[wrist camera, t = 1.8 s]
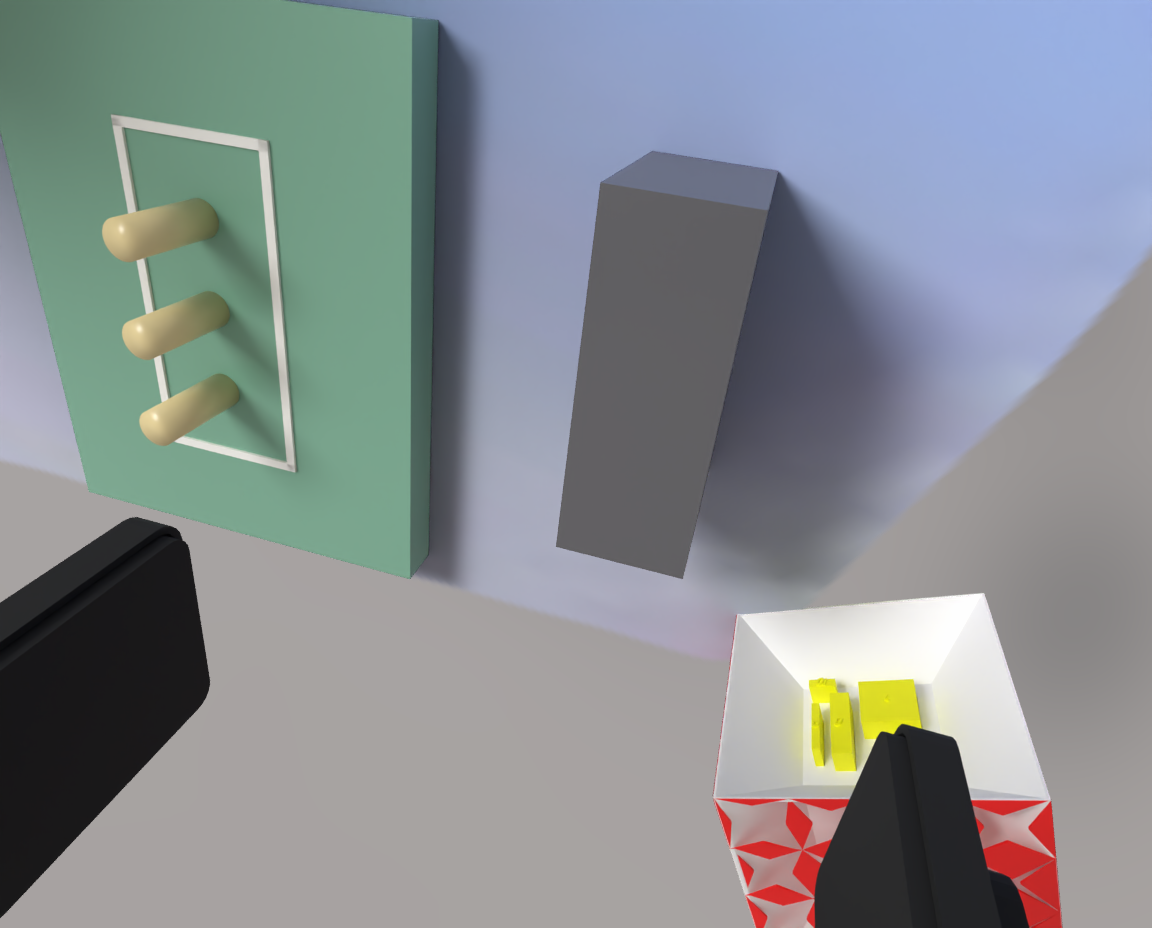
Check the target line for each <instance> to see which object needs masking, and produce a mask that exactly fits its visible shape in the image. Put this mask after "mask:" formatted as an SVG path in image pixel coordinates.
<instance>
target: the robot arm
mask: <svg viewBox="0 0 1152 928" xmlns="http://www.w3.org/2000/svg"><path fill="white" fill-rule="evenodd" d="M209 686H210V677H209V672H208V665H207V659H206V652H205V646H204V640H203V634H202V627H201V621H200V614H199V609H198V602H197V595H196V589H195V583H194V576H193V571H192V564H191V558H190V551H189V547H188V545H187V544H186V542H184V541H183V540H182V537H181V534H180V532H179V531H178V530H177V529H176V528H174V527H171V526H168V525H164V524H160V523H157V522H153V521H149V520H145V519H142V518H138V517H135V518H129V519H127V520H125V521H123V522H121V523H120V524H118V525H117V526H115V527H114V528H112V529H111V530H109V531H108V532H106V533H105V534H103V535H102V536H100V537H99V538H97V539H96V540H94V541H93V542H91V543H90V544H88V545H86V546H85V547H83V548H82V549H81V550H79V551H78V552H76V553H74V554H73V555H71V556H70V557H68V558H67V559H66V560H64V561H63V562H61V563H59V564H58V565H56V566H55V567H53V568H52V569H50V570H49V571H48V572H46V573H44V574H43V575H41V576H40V577H38V578H37V579H35V580H34V581H32V582H31V583H29V584H28V585H26V586H25V587H23V588H22V589H20V590H19V591H17V592H16V593H14V594H13V595H11V596H10V597H8V598H7V599H5V600H4V601H2V602H1V603H0V918H1V917H2V916H3V915H4V914H5V913H6V912H7V911H8V910H9V909H10V908H11V906H13V905H14V904H15V902H16V901H17V900H18V899H19V898H20V897H21V896H22V895H23V894H24V893H25V892H26V891H27V890H28V889H29V888H30V886H32V884H33V883H34V882H35V881H36V880H37V879H38V878H39V877H40V876H41V875H42V874H43V873H44V872H45V871H46V870H47V869H48V868H49V866H50V865H51V864H52V863H53V862H54V861H55V860H56V859H57V858H58V857H59V856H60V855H61V854H62V853H63V852H64V851H65V849H66V848H67V847H68V846H69V845H70V844H71V843H72V842H73V841H74V840H75V839H76V838H77V837H78V836H79V835H80V834H81V832H82V831H83V830H84V829H85V828H86V827H87V826H88V825H89V824H90V823H91V822H92V821H93V820H94V819H95V818H96V817H97V815H99V813H100V812H101V811H102V810H103V809H104V808H105V807H106V806H107V805H108V804H109V803H110V802H111V801H112V800H113V798H115V796H116V795H117V794H118V793H119V792H120V791H121V790H122V789H123V788H124V787H125V786H126V785H127V783H129V782H130V781H131V780H132V778H133V777H134V776H135V775H136V774H137V773H138V772H139V771H140V770H141V769H142V768H143V767H144V766H145V765H146V764H147V763H148V762H149V760H150V759H151V758H152V757H153V756H154V755H155V754H156V753H157V752H158V751H159V750H160V749H161V748H162V747H163V745H164V744H165V743H166V742H167V741H168V740H169V739H170V738H171V737H172V736H173V735H174V734H175V733H176V732H177V730H179V729H180V728H181V726H182V725H183V724H184V723H185V722H186V721H187V720H188V719H189V718H190V717H191V716H192V715H193V714H194V713H195V712H196V711H197V710H198V708H199V707H200V706H201V705H202V703H203V702H204V700H205V698H206V696H207V694H208V691H209ZM814 907H815V928H1029V924H1028V920H1027V917H1026V913H1025V909H1024V906H1023V902H1022V900H1021V897H1020V894H1019V892H1018V889H1017V887H1016V885H1015V884H1014V883H1013V881H1012V880H1011V879H1010V877H1008V876H1006V875H1004V874H1002V873H998V872H995V871H992V870H988V868H987V864H986V860H985V856H984V851H983V847H982V843H981V839H980V835H979V831H978V826H977V822H976V818H975V814H974V810H973V805H972V801H971V797H970V793H969V789H968V784H967V780H966V776H965V772H964V768H963V764H962V759H961V755H960V751H959V747H958V745H957V742H956V740H955V739H954V738H953V737H951V736H947V735H943V734H940V733H936V732H932V731H928V730H925V729H921V728H917V727H914V726H910V725H906V724H901V725H900V726H899V727H898V728H897V730H896V731H895V733H894V734H891V733H888V732H884V731H882V732H880V733H879V735H878V737H877V738H876V741H875V743H874V745H873V747H872V750H871V752H870V754H869V756H868V759H867V761H866V763H865V766H864V768H863V770H862V772H861V775H860V777H859V779H858V781H857V784H856V786H855V788H854V790H853V793H852V795H851V797H850V799H849V802H848V804H847V806H846V808H845V811H844V813H843V815H842V818H841V820H840V822H839V824H838V827H837V829H836V831H835V833H834V836H833V838H832V840H831V842H830V845H829V847H828V849H827V851H826V854H825V856H824V858H823V861H822V863H821V865H820V868H819V871H818V874H817V879H816V885H815V897H814Z"/></svg>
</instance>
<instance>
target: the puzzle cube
mask: <svg viewBox="0 0 1152 928" xmlns="http://www.w3.org/2000/svg"><path fill="white" fill-rule="evenodd" d="M901 724H906V725H910V726H914V727H917V728H921V729H925V730H928V731H932V732H936V733H940V734H943V735H947V736H951V737H953V738H954V739H955V740H956V742H957V745H958V747H959V751H960V755H961V759H962V764H963V768H964V772H965V776H966V780H967V784H968V789H969V793H970V797H971V801H972V805H973V810H974V814H975V818H976V822H977V826H978V831H979V835H980V839H981V843H982V847H983V851H984V856H985V860H986V864H987V868H988V870H992V871H995V872H998V873H1002V874H1004V875H1006V876H1008V877H1010V879H1011V880H1012V881H1013V883H1014V884H1015V885H1016V887H1017V889H1018V892H1019V894H1020V897H1021V900H1022V902H1023V906H1024V909H1025V913H1026V917H1027V920H1028V924H1029V928H1062V915H1061V905H1060V893H1059V881H1058V870H1057V859H1056V851H1055V838H1054V828H1053V816H1052V806H1051V798H1050V795H1049V792H1048V789H1047V786H1046V783H1045V780H1044V776H1043V773H1042V770H1041V767H1040V764H1039V761H1038V758H1037V755H1036V752H1035V749H1034V746H1033V743H1032V739H1031V736H1030V734H1029V730H1028V727H1027V724H1026V721H1025V718H1024V715H1023V712H1022V708H1021V705H1020V703H1019V699H1018V696H1017V693H1016V690H1015V687H1014V684H1013V681H1012V677H1011V674H1010V671H1009V668H1008V665H1007V662H1006V659H1005V656H1004V653H1003V650H1002V647H1001V644H1000V640H999V637H998V634H997V631H996V628H995V625H994V622H993V619H992V615H991V613H990V609H989V606H988V603H987V600H986V597H985V594H984V593H977V594H966V595H953V596H941V597H929V598H917V599H905V600H894V601H881V602H869V603H857V604H845V605H834V606H822V607H809V608H805V609H802V610H791V611H779V612H767V613H755V614H743V615H739V614H738V615H736V622H735V630H734V638H733V645H732V653H731V660H730V668H729V676H728V683H727V695H726V698H725V706H724V714H723V721H722V729H721V736H720V739H721V741H720V745H719V752H718V760H717V768H716V775H715V783H714V790H713V794H714V795H713V800H714V804H715V807H716V810H717V813H718V816H719V818H720V822H721V825H722V828H723V831H724V834H725V837H726V840H727V843H728V845H729V848H730V851H731V854H732V857H733V860H734V863H735V866H736V869H737V873H738V876H739V879H740V882H741V885H742V888H743V891H744V894H745V897H746V900H747V903H748V906H749V909H750V912H751V915H752V919H753V921H754V925H755V928H815V907H814V897H815V885H816V879H817V874H818V871H819V868H820V865H821V863H822V861H823V858H824V856H825V854H826V851H827V849H828V847H829V845H830V842H831V840H832V838H833V836H834V833H835V831H836V829H837V827H838V824H839V822H840V820H841V818H842V815H843V813H844V811H845V808H846V806H847V804H848V802H849V799H850V797H851V795H852V793H853V790H854V788H855V786H856V784H857V781H858V779H859V777H860V775H861V772H862V770H863V768H864V766H865V763H866V761H867V759H868V756H869V754H870V752H871V750H872V747H873V745H874V743H875V741H876V738H877V737H878V735H879V733H880V732H882V731H884V732H888V733H891V734H894V733H895V731H896V730H897V728H898V727H899V726H900V725H901Z"/></svg>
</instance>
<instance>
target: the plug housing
mask: <svg viewBox="0 0 1152 928" xmlns="http://www.w3.org/2000/svg"><path fill="white" fill-rule="evenodd" d="M777 175H778V171H776V170H770V169H763V168H757V167H751V166H744V165H738V164H732V163H725V162H719V161H712V160H706V159H700V158H693V157H687V156H681V155H674V154H668V153H661V152H655V151H652V152H650V153H648V154H647V155H645V156H643V157H642V158H640V159H638V160H637V161H635V162H634V163H632V164H630V165H629V166H627V167H625V168H624V169H622V170H620V171H619V172H617V173H616V174H614V175H612V176H611V177H609V178H607V179H606V180H604V181H602V182H601V183H600V191H599V200H598V208H597V216H596V224H595V232H594V240H593V249H592V257H591V265H590V273H589V281H588V289H587V298H586V306H585V314H584V322H583V330H582V338H581V347H580V355H579V363H578V371H577V379H576V388H575V396H574V404H573V412H572V420H571V428H570V437H569V445H568V453H567V461H566V469H565V477H564V486H563V494H562V502H561V510H560V518H559V527H558V535H557V543H556V547H559V548H563V549H567V550H571V551H575V552H579V553H583V554H587V555H591V556H595V557H599V558H603V559H606V560H610V561H614V562H618V563H622V564H626V565H630V566H634V567H638V568H642V569H646V570H649V571H653V572H657V573H661V574H665V575H669V576H673V577H677V578H681V579H683V575H684V571H685V567H686V563H687V559H688V555H689V551H690V546H691V542H692V538H693V534H694V530H695V526H696V522H697V517H698V513H699V509H700V505H701V501H702V497H703V493H704V489H705V484H706V480H707V476H708V472H709V468H710V463H711V459H712V455H713V450H714V446H715V442H716V438H717V433H718V429H719V425H720V420H721V416H722V412H723V407H724V403H725V399H726V395H727V390H728V386H729V382H730V377H731V373H732V369H733V364H734V360H735V356H736V351H737V347H738V343H739V339H740V334H741V330H742V326H743V321H744V317H745V313H746V308H747V304H748V300H749V295H750V291H751V287H752V283H753V278H754V274H755V270H756V265H757V261H758V257H759V252H760V248H761V244H762V239H763V235H764V231H765V227H766V222H767V218H768V214H769V209H770V205H771V201H772V196H773V192H774V188H775V184H776V179H777Z"/></svg>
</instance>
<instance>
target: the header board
mask: <svg viewBox="0 0 1152 928" xmlns="http://www.w3.org/2000/svg"><path fill="white" fill-rule="evenodd" d="M437 73H438V20H432V19H424V18H417V17H409V16H402V15H394V14H387V13H379V12H372V11H364V10H357V9H349V8H342V7H334V6H327V5H319V4H312V3H304V2H297V1H289V0H0V133H1V137H2V141H3V145H4V149H5V153H6V157H7V161H8V165H9V169H10V173H11V177H12V181H13V185H14V189H15V193H16V197H17V202H18V206H19V210H20V214H21V218H22V222H23V226H24V230H25V234H26V238H27V242H28V246H29V250H30V254H31V258H32V262H33V266H34V271H35V275H36V279H37V283H38V287H39V291H40V295H41V299H42V303H43V307H44V311H45V315H46V319H47V323H48V327H49V331H50V335H51V339H52V344H53V348H54V352H55V356H56V360H57V364H58V368H59V372H60V376H61V380H62V384H63V388H64V392H65V396H66V400H67V404H68V408H69V412H70V417H71V421H72V425H73V429H74V433H75V437H76V441H77V445H78V449H79V453H80V457H81V461H82V465H83V469H84V473H85V477H86V481H87V486H88V490H89V492H92V493H96V494H99V495H103V496H107V497H110V498H114V499H118V500H122V501H125V502H129V503H132V504H136V505H140V506H143V507H147V508H151V509H154V510H158V511H162V512H165V513H169V514H173V515H176V516H180V517H184V518H187V519H191V520H195V521H198V522H202V523H206V524H209V525H213V526H217V527H220V528H224V529H228V530H231V531H235V532H239V533H243V534H246V535H250V536H254V537H257V538H261V539H264V540H268V541H272V542H275V543H279V544H283V545H286V546H290V547H294V548H298V549H302V550H305V551H308V552H312V553H316V554H320V555H323V556H327V557H330V558H334V559H338V560H341V561H345V562H349V563H352V564H357V565H360V566H363V567H367V568H371V569H374V570H378V571H382V572H386V573H389V574H393V575H396V576H400V577H404V578H407V579H411V577H412V576H413V575H414V573H415V572H416V571H417V569H418V568H419V567H420V565H421V564H422V563H423V562H424V560H425V559H426V558H427V556H428V554H429V501H430V447H431V394H432V340H433V287H434V233H435V180H436V127H437Z"/></svg>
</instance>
